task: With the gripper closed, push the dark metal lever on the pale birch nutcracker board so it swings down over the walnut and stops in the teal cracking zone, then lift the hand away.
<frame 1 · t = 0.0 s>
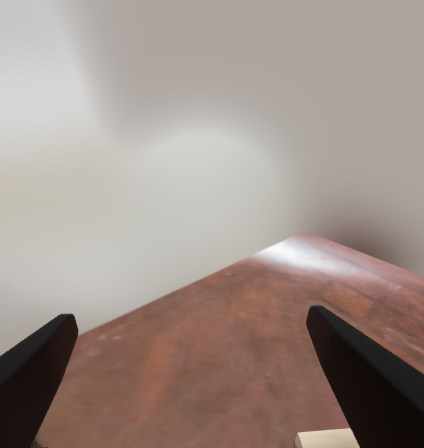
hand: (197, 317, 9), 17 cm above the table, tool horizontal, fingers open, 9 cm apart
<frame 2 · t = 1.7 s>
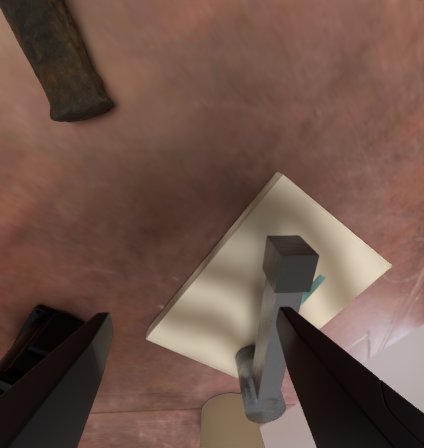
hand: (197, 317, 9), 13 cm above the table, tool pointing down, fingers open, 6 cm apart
lidded canister: (226, 407, 33), on the table
lever: (267, 329, 21), point 5 cm above the table, hinge at 35.0°
nutcracker board: (261, 293, 25), on the table
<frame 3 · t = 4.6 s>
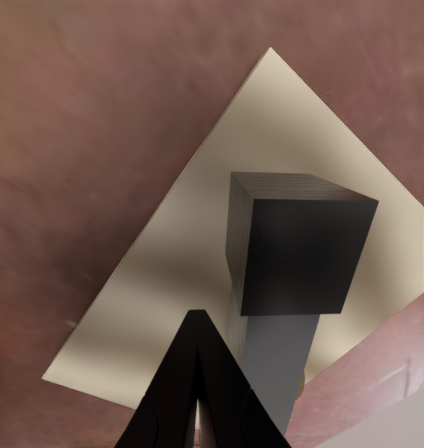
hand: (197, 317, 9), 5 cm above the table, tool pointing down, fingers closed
lever: (243, 375, 11), point 5 cm above the table, hinge at 34.6°, touching gripper
nutcracker board: (240, 302, 15), on the table
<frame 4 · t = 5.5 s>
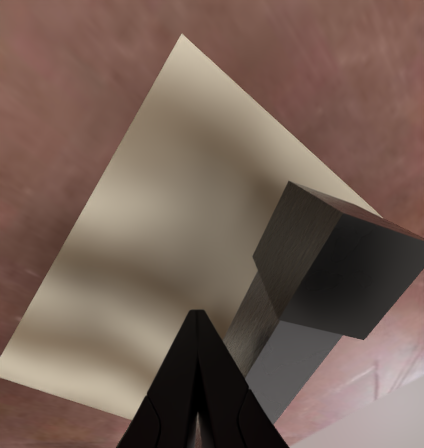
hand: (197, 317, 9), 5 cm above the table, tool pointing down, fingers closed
lever: (222, 378, 11), point 5 cm above the table, hinge at 17.4°, touching gripper
nutcracker board: (192, 301, 15), on the table
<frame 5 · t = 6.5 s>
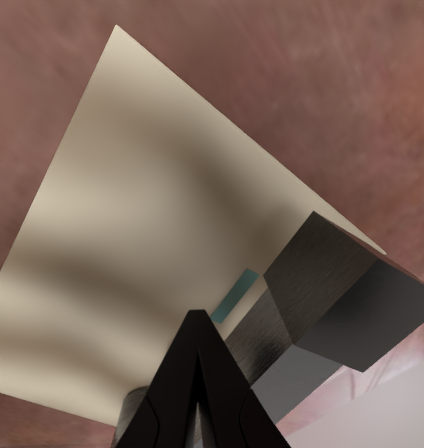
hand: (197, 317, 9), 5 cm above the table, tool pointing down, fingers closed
lever: (205, 387, 11), point 5 cm above the table, hinge at 6.5°, touching gripper
nutcracker board: (157, 301, 14), on the table
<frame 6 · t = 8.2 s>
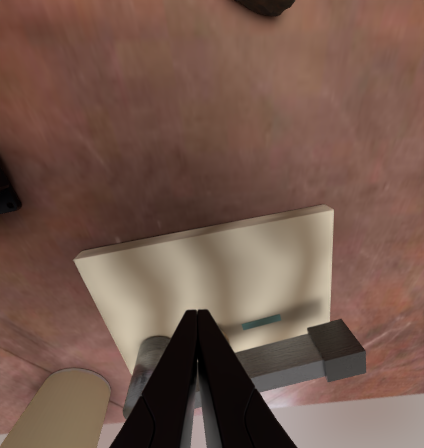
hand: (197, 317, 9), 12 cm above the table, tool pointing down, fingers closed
lidded canister: (79, 386, 28), on the table
lever: (235, 358, 20), point 5 cm above the table, hinge at 6.2°
nutcracker board: (217, 297, 23), on the table
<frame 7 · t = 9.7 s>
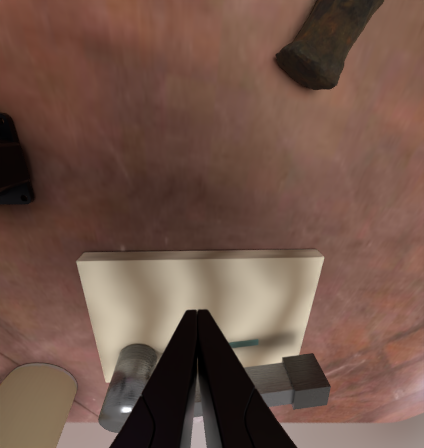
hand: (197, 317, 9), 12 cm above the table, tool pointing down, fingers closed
lidded canister: (44, 382, 27), on the table
lever: (212, 376, 21), point 5 cm above the table, hinge at 6.2°
nutcracker board: (203, 314, 24), on the table
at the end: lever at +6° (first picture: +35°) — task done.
